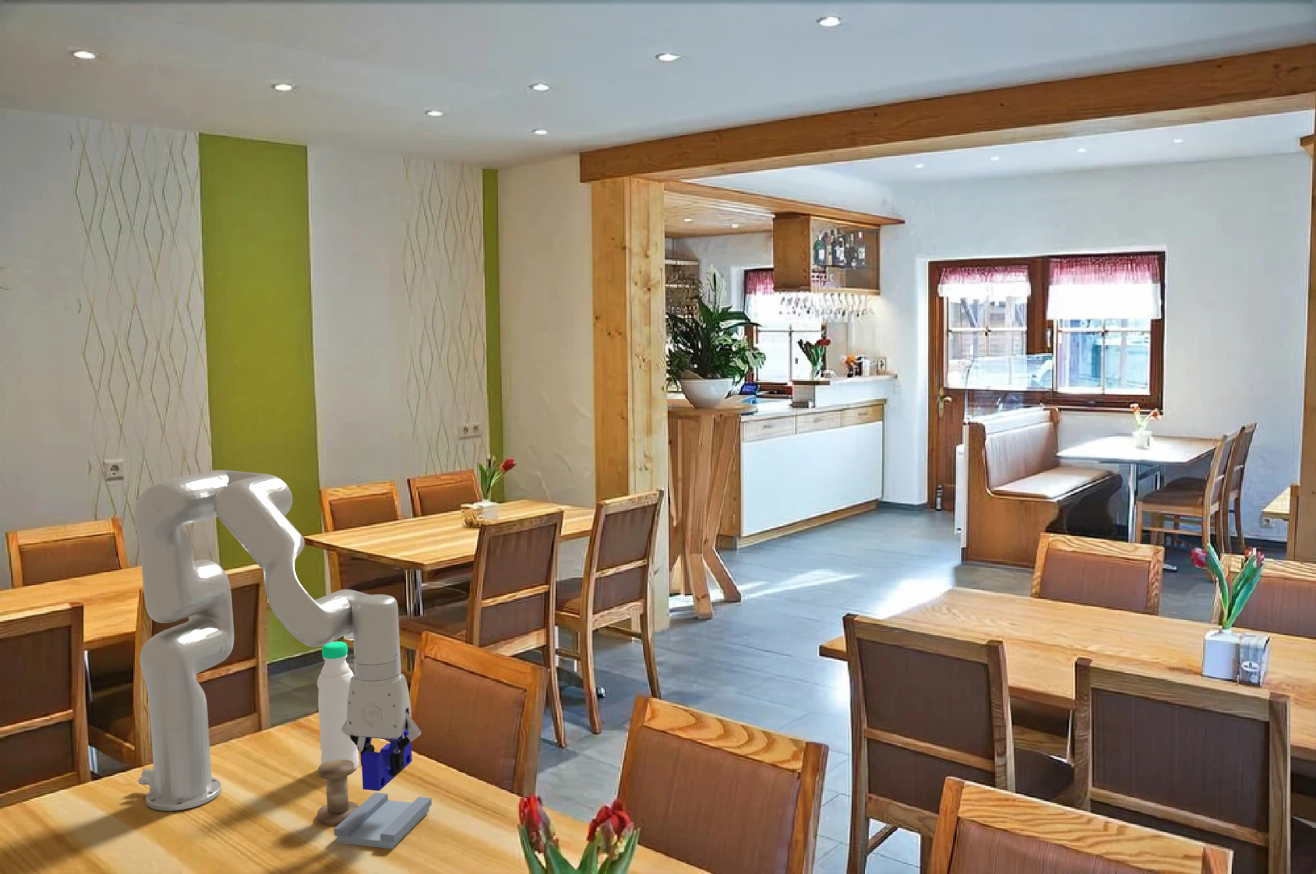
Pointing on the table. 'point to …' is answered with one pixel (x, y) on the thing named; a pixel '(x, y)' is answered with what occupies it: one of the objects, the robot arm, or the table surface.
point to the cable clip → (381, 766)
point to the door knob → (336, 791)
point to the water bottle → (335, 705)
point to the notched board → (381, 821)
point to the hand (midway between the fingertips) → (382, 771)
